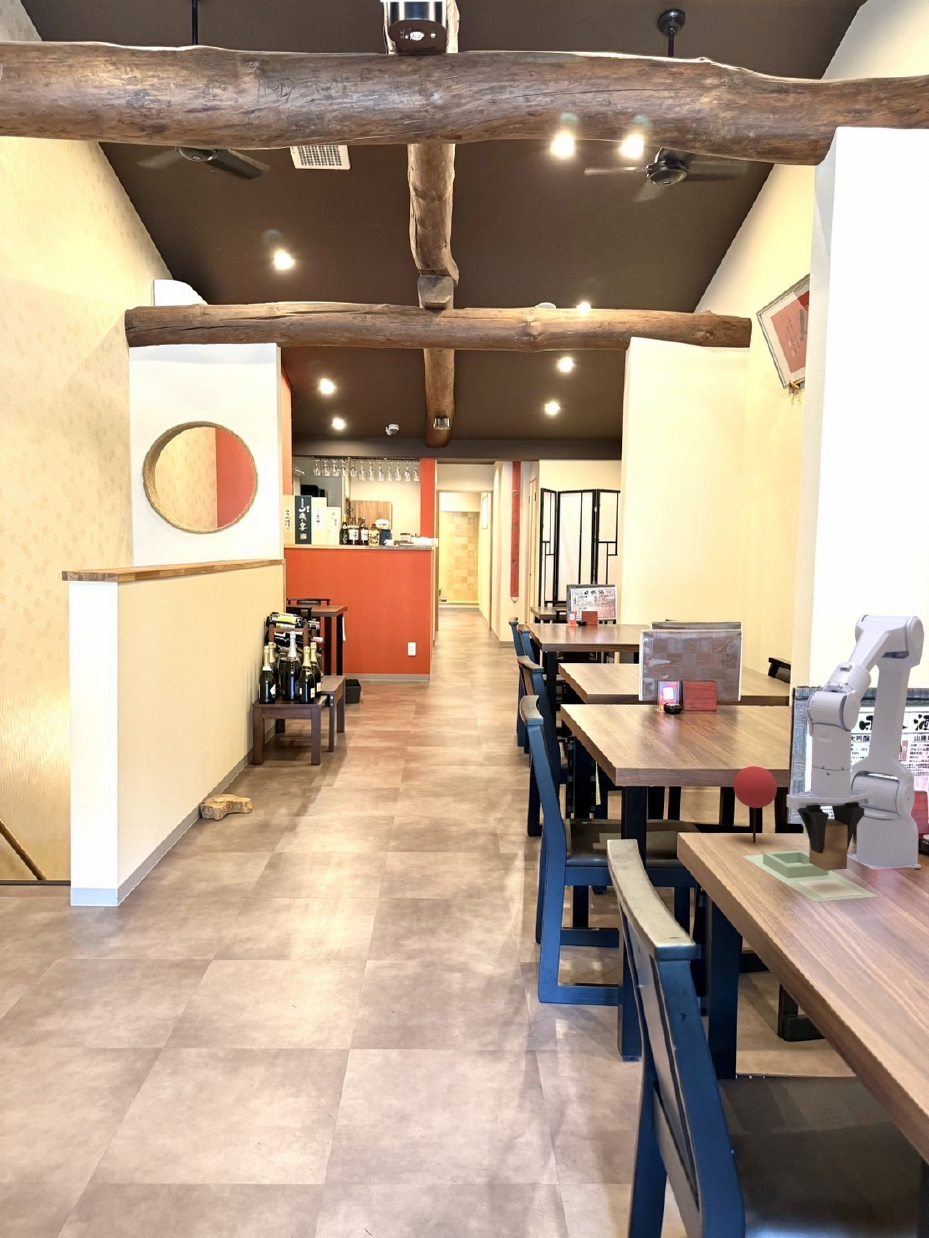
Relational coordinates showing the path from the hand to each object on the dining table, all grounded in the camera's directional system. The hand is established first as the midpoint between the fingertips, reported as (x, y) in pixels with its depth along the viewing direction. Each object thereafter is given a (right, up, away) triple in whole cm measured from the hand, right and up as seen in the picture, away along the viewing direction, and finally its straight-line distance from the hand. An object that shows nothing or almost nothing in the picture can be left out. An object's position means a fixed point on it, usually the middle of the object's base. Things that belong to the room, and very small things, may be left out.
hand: (829, 850), depth 135 cm
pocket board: (-1, -7, +7) cm, 9 cm away
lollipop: (-4, -6, +25) cm, 26 cm away
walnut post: (0, -3, 0) cm, 3 cm away
